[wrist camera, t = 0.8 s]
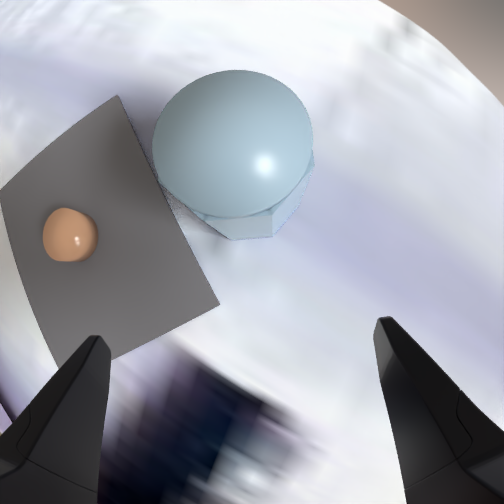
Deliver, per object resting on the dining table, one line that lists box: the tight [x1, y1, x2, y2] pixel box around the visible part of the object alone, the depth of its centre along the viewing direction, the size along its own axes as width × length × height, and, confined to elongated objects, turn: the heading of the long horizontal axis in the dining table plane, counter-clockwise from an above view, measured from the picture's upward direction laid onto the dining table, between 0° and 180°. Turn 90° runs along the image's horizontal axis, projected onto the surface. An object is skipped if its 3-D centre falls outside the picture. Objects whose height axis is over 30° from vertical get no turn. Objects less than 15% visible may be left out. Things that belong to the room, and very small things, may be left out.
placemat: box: [0, 95, 220, 368], centre depth 23 cm, size 20×16×1 cm
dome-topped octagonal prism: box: [152, 70, 315, 240], centre depth 18 cm, size 7×7×10 cm
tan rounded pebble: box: [43, 208, 98, 262], centre depth 22 cm, size 4×4×2 cm
